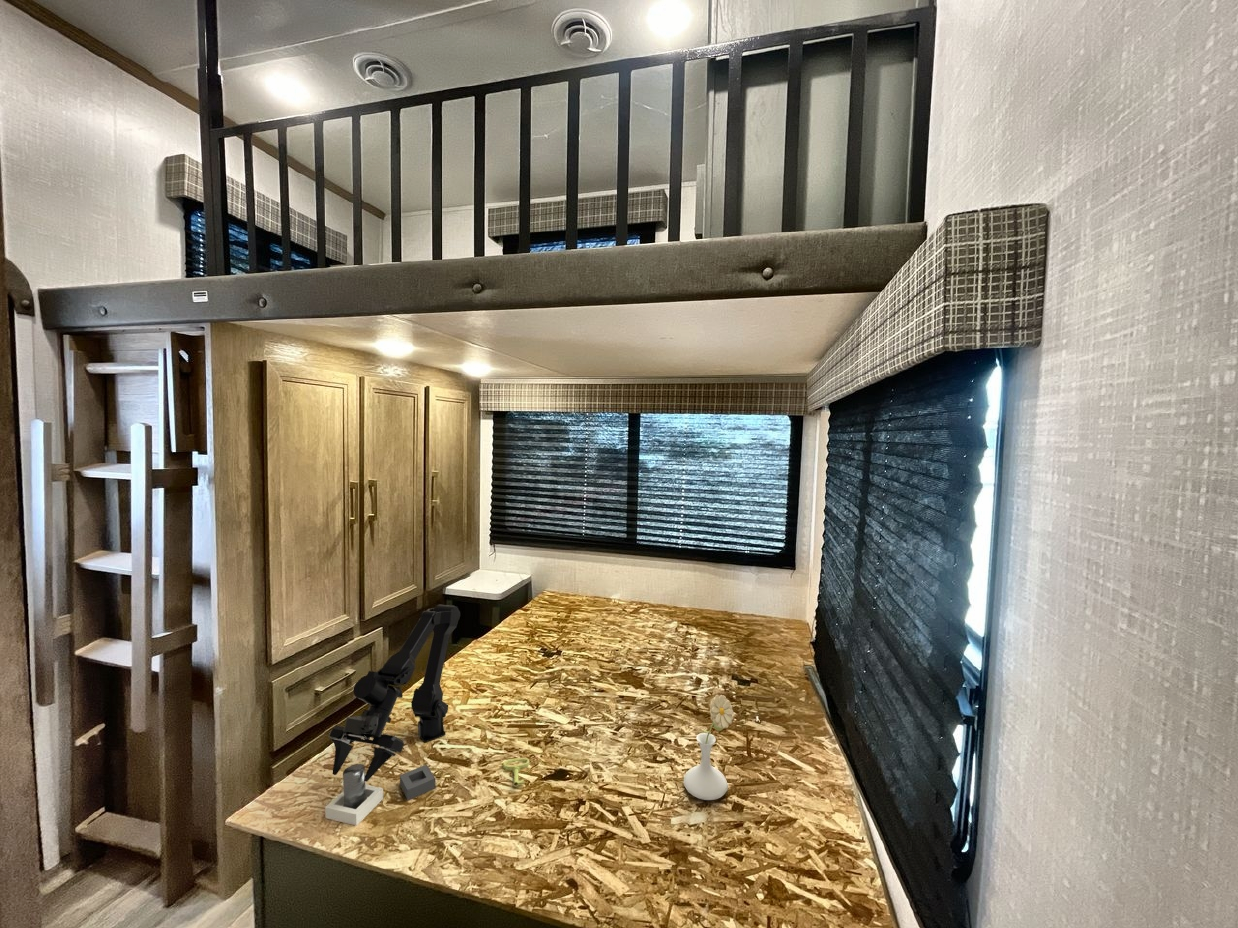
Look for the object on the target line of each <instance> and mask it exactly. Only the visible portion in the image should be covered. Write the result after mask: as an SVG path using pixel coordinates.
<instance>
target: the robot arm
mask: <svg viewBox="0 0 1238 928" xmlns="http://www.w3.org/2000/svg"><path fill="white" fill-rule="evenodd" d="M460 617H461V611H460V610H459V607H458V606H456V605H447V604H437V605H435V607H432V608H428V609H427V610H424V611H422V612H421V613H420V615H419V619H418V621H417V623H416V624H415V626H414V628H413V629H412V630H411V632H410V634H409V636H408V637H407V639H406V640H405V642H404V643H403V645H402V646H401V648H400V649H399V651H397V652H396V653H394V654H392V655H391V656H390V657H389V658H387V659H388V660H387V661H386V662H385V663H384V664H383V666H382V667H381V668H380V669H378V670H377V671H373V670H369V671H368V672H367V674H366V675H364V676H362V677H360V678H359V679H358V681H357V682H355V684H354V686H353V692H352V693H353V696H355V697H356V698H357V699H359V700H361V701H363V702H364V703H366V704H368V705H369V706H368V709H364V710H363V711H362V712H361V715H353V716H347V717H346V719H345V724H344V725H343V726H339V725H335V726H334V727H332V728H331V730H330V732H329V734H328V738H330V739H331V743H333V745H334V748H335V751H334V759H333V767H332V775H333V776H336V775H337V774H338V773H339V772H340V770H341V769H342V767H343V765H344V763H345V761H346V760H347V758H348V756H349V754H350V753H351V751H352V749H353V748H354V746H353V745H351V744H353V743H354V742H358V743H363V744H368V745H375V746H374V748H373V757H372V759H371V762H370V763H369V765H368V768H367V770H366V771H365V778H364V781H365V783H366V782H367V783H368V781H369V780H371V778H372V777H373V776H374V775H375V774H376V772H377V771H379V769H380V768H381V767H382V766H383V765H384V764H385V763H386V762H387V761H388V760H390V758H392V757H395V756H396V753H398V754H401V753H402V751H403V749H404V746H405V745H404V739H401V738H400V737H398V736H395V735H393V734H392V735H391V734H385V733H383V731H384V730H385V727H386V725H387V723H388V724H389V723H391V720H392V718H391V717H390V716H391V713H392V711H393V709H394V706H395V704H396V702H397V700H398V698H399V699H402V698H403V692H402V687H400V686H403V685H407V684H408V683H409V681H410V680H411V678H412V676H413V673H414V671H415V669H416V659H417V657H418V656H419V654H420V652H421V651H422V648H423V647H424V645H425V643H426V642H427V640H428V639H429V637H430V635H431V634H432V632H433V635H432V638H431V644H430V648H429V653H428V659H427V663H426V666H425V667H426V668H425V671H424V677H423V681H422V683H421V685H419V687H418V688H415V689H414V691H413V695H412V699H411V710H412V712H413V716H414V717H416V718H419V720H418V721H417V735H418V736H419V738H420V739H422V742H424V743H427V742H430V741H432V740H435V739H438V738H441V737H443V736H445V735H446V731H445V730H444V718H446V716H447V714H448V713H449V712H448V711H449V704H447V703H446V702H445V701H443V697H444V692H443V689H442V687H441V679H442V676H443V674H442V673H443V670H444V665H445V664H444V663H445V660H446V654H447V650H448V646H449V640H450V636H451V634H452V633H453V632H454V631H455V629H456V628H457V627H458V624H459V620H460V619H461V618H460ZM377 746H379V747H377Z"/></svg>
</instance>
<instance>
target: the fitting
mask: <svg viewBox="0 0 1238 928" xmlns="http://www.w3.org/2000/svg"><path fill="white" fill-rule="evenodd" d="M365 775H366V767H365V765H364V764H363V763H354V764H352V765H350V766H348V767H346V768H345V769H344V770H343V772H342V783H343V791H344V805H343V807H348V808H352V809H357V808H358V807H359V806H360V805H361V804H362V803H363V802H364V801H365V800H366V799H367V797H366V785H367V784H366V781H364V778H365Z"/></svg>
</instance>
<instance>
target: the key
mask: <svg viewBox="0 0 1238 928" xmlns="http://www.w3.org/2000/svg"><path fill="white" fill-rule="evenodd" d="M514 762H524V763H522V764H515V765H508V764H510V763H514ZM502 763H503V764H502V768H503V769H504V770H505V771H509V772H510V771H512V773H513V786H514V787H515V788H516V787H518V786H519V785H524V784H525V781H524V779H521V780H520V779H519V773H520V770H523V769H526V768H527V767H529V765H530V764H531V763H530V758H527V757H517V758H516V757H515V758H509V759H507V760H505V761H504V762H502Z"/></svg>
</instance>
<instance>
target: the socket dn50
mask: <svg viewBox="0 0 1238 928" xmlns="http://www.w3.org/2000/svg"><path fill="white" fill-rule="evenodd" d="M365 785H366V797H367V799H366V800H365V801H364V802H363V803H362V804H361V805H360V806H359V807H358V808H357V809H352V808H348V807H343V805H344V790H342V792H341V793H339V794H338V795H337V796H336V797H335V798H334V799H333V800H332V801H330V802H329V803H328V804H327V805H326V806H324V811H325V812H324V814H325V819H327V820H330V821H336V822H340V823H344V824H349V825H353V826H358V825H359V824H360V823H361V822H362V821H363V820H364V819H365V818H366V816H368V815H369V814H370V813H371V812H372V810H374V809H375V808H376V807H377V806H378V805H379V803H381V801H382V800H383V799H384V791H383V790H384V788H382V787H379V786H373V785H369V784H365Z"/></svg>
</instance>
